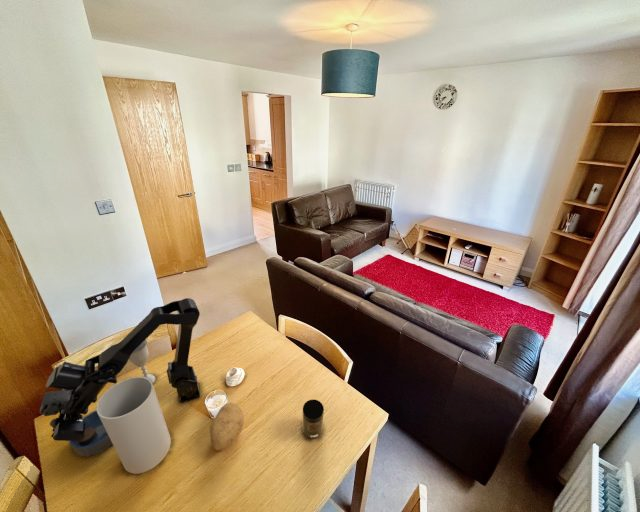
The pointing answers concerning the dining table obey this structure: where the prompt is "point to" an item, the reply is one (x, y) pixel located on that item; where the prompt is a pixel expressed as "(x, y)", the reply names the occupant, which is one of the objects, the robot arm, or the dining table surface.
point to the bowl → (99, 440)
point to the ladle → (87, 436)
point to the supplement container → (313, 418)
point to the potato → (226, 426)
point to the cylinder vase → (135, 424)
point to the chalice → (141, 359)
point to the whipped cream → (234, 376)
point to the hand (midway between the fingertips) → (53, 433)
